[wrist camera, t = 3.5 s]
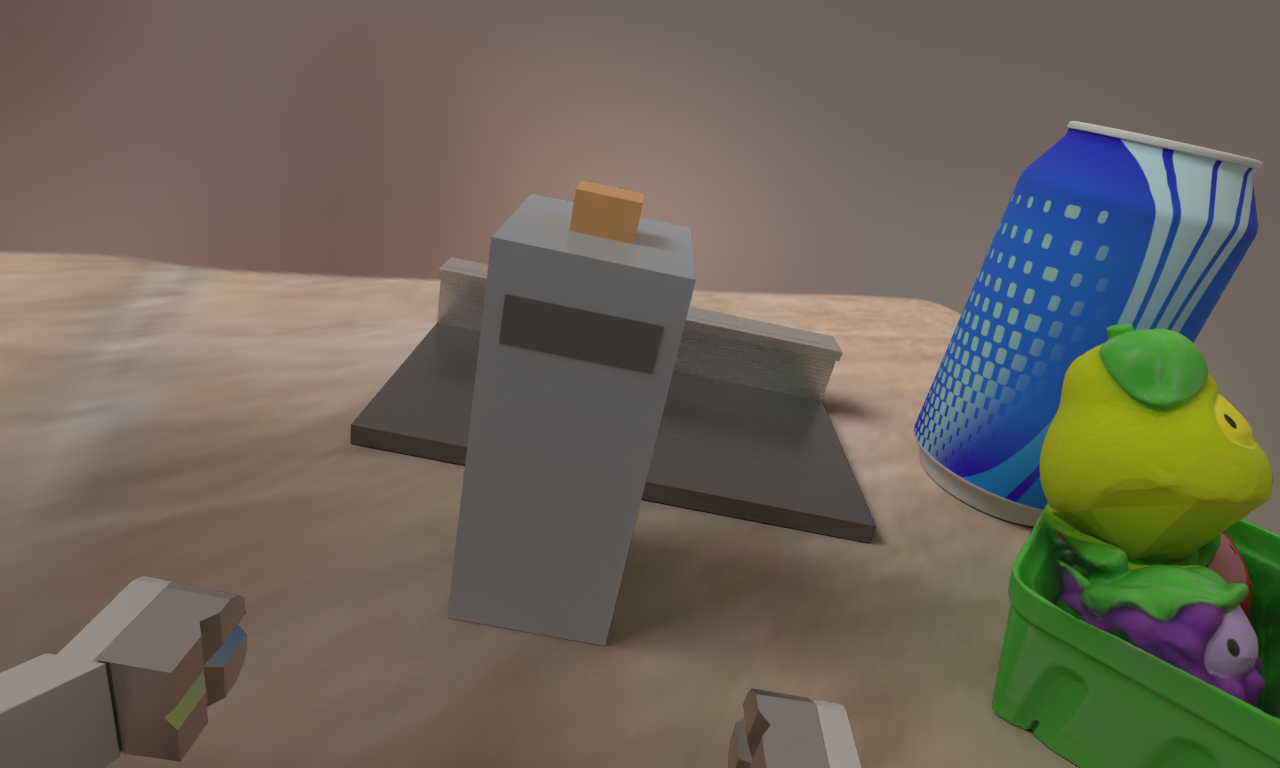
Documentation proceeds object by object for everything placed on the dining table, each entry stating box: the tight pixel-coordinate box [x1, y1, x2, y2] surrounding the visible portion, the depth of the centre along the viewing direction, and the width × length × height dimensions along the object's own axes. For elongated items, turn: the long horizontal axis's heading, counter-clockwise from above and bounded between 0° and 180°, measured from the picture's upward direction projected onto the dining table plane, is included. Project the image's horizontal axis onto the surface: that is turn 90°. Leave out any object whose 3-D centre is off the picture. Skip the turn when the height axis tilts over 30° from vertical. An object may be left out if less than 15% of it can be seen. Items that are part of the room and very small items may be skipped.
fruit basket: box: [992, 323, 1280, 768], centre depth 21 cm, size 11×9×11 cm
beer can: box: [914, 121, 1262, 527], centre depth 31 cm, size 8×8×16 cm
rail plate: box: [351, 257, 876, 543], centre depth 32 cm, size 20×14×4 cm
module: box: [448, 180, 696, 646], centre depth 20 cm, size 4×5×12 cm
